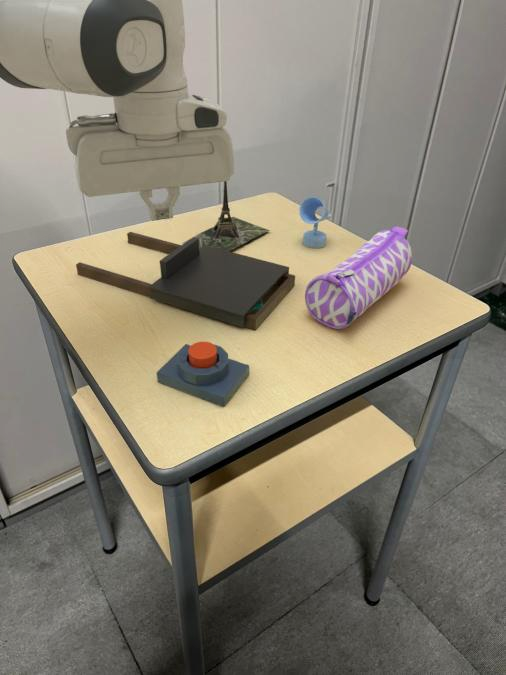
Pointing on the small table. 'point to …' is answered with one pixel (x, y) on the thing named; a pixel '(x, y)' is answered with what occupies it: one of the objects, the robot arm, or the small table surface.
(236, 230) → the eiffel tower figurine
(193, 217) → the small table surface
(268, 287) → the lid
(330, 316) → the pencil case
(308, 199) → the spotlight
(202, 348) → the button
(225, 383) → the button block
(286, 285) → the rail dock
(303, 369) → the small table surface
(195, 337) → the small table surface
